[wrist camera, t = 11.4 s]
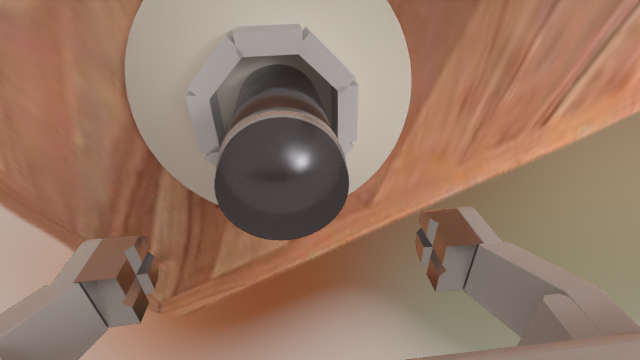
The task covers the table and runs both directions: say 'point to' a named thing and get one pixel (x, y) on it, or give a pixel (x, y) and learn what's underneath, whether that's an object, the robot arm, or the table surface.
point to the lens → (280, 158)
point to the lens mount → (256, 52)
